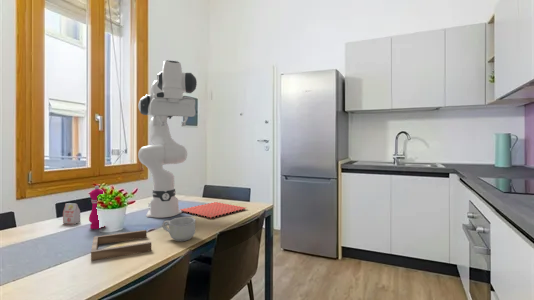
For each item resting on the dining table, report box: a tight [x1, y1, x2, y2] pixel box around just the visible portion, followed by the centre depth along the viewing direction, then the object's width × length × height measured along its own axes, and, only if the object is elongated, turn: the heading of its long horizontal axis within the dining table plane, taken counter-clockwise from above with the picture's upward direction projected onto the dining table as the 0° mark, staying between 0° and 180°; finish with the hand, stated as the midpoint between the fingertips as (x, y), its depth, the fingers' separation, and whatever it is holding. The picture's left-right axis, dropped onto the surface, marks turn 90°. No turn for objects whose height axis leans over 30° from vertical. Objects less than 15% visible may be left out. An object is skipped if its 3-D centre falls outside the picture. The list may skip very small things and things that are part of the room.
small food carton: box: [62, 202, 81, 225], centre depth 152 cm, size 4×7×10 cm, turn 77°
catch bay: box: [90, 229, 153, 262], centre depth 116 cm, size 19×20×3 cm
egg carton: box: [179, 201, 247, 220], centre depth 177 cm, size 28×28×2 cm
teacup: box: [162, 216, 196, 242], centre depth 126 cm, size 14×11×8 cm
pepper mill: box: [88, 185, 104, 230], centre depth 144 cm, size 7×7×20 cm
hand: (173, 125), depth 139 cm, fingers open, 8 cm apart
